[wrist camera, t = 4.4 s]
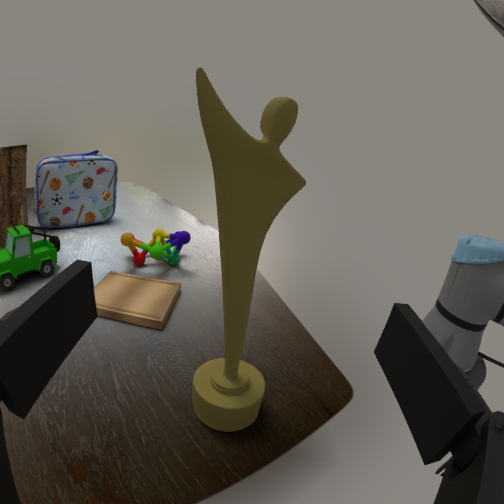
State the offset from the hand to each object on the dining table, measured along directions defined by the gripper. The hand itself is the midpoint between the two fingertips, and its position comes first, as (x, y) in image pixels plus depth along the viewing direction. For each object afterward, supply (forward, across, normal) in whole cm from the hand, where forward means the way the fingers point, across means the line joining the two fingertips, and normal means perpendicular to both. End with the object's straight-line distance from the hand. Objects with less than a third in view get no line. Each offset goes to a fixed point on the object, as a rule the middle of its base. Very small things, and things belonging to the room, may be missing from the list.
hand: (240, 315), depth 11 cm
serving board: (+28, -17, -19) cm, 38 cm away
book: (+35, -56, -19) cm, 69 cm away
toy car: (+28, -42, -19) cm, 54 cm away
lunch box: (+62, -51, -19) cm, 83 cm away
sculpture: (+10, 0, -19) cm, 22 cm away
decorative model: (+44, -18, -19) cm, 51 cm away
